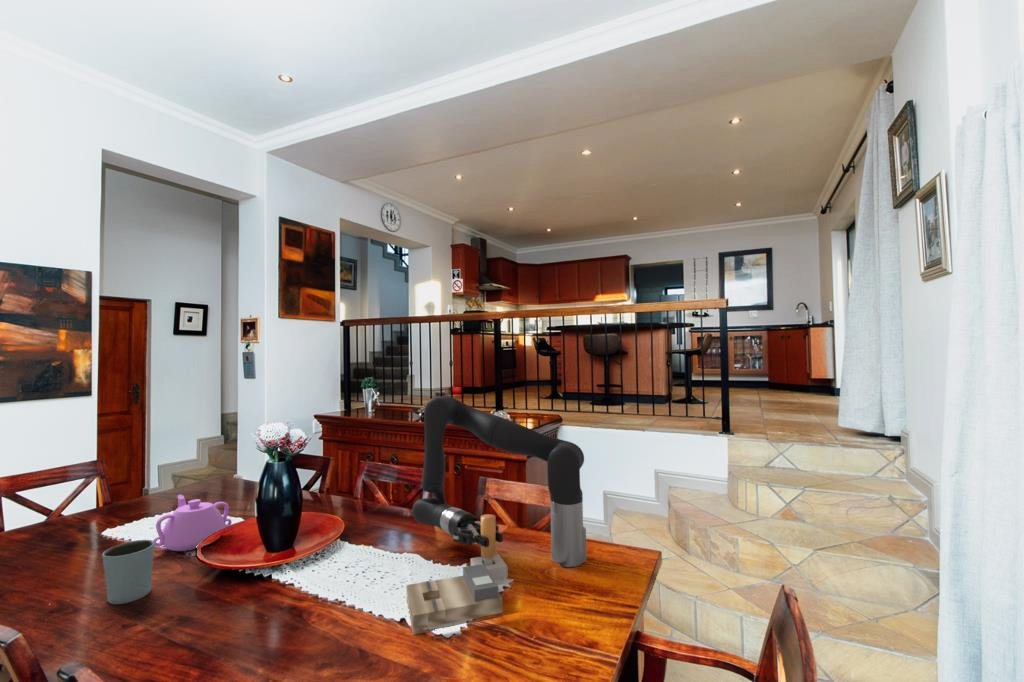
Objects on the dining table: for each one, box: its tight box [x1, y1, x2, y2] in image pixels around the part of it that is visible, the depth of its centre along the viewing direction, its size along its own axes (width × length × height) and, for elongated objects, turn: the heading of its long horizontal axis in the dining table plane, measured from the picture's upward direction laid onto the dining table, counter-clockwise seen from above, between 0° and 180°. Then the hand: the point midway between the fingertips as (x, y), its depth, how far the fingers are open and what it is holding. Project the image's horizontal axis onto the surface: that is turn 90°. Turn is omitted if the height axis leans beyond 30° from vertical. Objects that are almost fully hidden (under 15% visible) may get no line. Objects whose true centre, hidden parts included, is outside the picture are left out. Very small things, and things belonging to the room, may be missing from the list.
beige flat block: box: [406, 575, 504, 635], centre depth 109 cm, size 20×14×4 cm
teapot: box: [152, 494, 233, 552], centre depth 151 cm, size 22×22×14 cm
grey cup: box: [101, 539, 155, 605], centre depth 118 cm, size 10×10×12 cm
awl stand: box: [470, 553, 509, 581], centre depth 124 cm, size 8×8×4 cm
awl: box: [480, 513, 497, 566], centre depth 125 cm, size 4×4×15 cm
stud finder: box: [462, 564, 499, 601], centre depth 111 cm, size 6×12×3 cm, turn 18°
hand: (494, 540), depth 123 cm, fingers closed on awl, 4 cm apart
